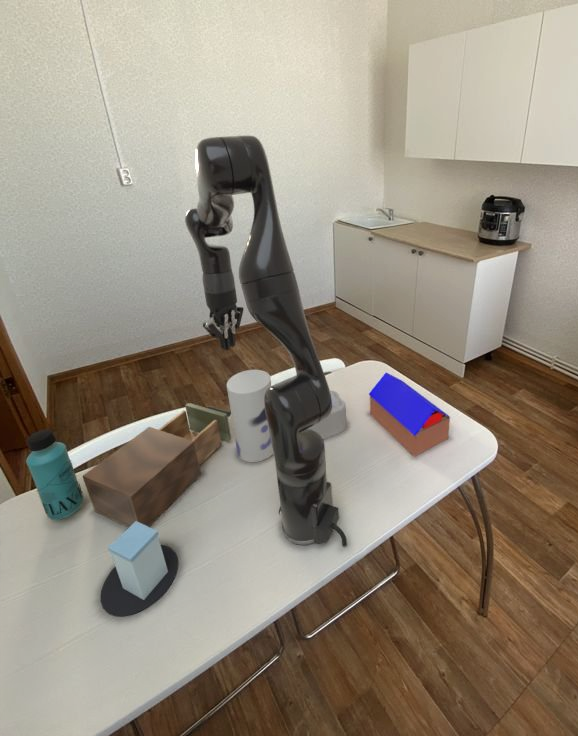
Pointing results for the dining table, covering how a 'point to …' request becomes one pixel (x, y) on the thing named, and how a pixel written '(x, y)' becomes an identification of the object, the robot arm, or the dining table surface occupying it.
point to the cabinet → (143, 477)
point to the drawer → (201, 428)
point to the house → (408, 415)
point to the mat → (127, 603)
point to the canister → (139, 559)
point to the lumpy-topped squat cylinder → (332, 419)
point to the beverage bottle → (53, 475)
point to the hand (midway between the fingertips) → (228, 347)
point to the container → (250, 414)
